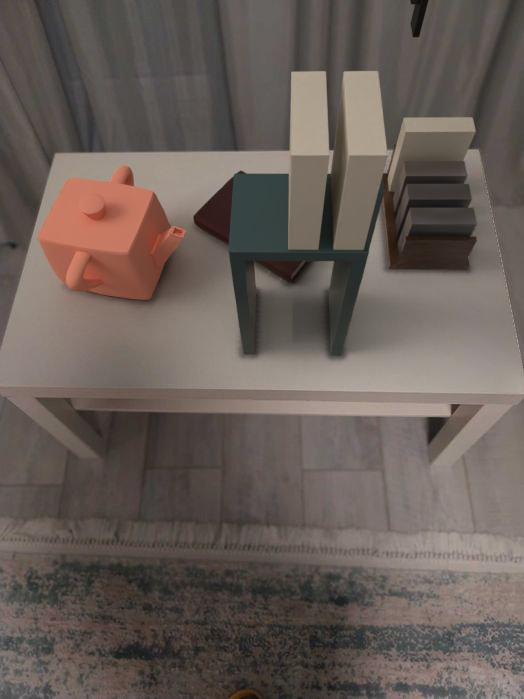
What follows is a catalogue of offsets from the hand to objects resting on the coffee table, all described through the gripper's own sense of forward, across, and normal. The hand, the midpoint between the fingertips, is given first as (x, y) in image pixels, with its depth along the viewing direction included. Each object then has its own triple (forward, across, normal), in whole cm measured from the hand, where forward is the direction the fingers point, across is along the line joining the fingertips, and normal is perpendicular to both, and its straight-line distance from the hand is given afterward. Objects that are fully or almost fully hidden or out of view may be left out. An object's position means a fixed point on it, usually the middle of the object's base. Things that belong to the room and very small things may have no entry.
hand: (471, 30), depth 60 cm
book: (+27, +26, +9) cm, 38 cm away
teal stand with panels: (+26, +21, +26) cm, 43 cm away
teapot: (+27, +46, +16) cm, 55 cm away
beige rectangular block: (+26, 0, 0) cm, 26 cm away
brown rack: (+26, 0, +7) cm, 27 cm away
